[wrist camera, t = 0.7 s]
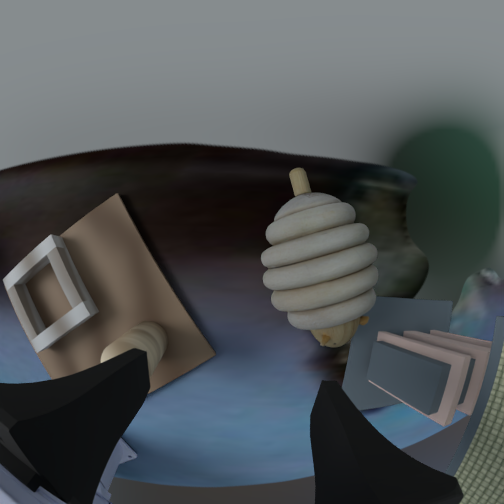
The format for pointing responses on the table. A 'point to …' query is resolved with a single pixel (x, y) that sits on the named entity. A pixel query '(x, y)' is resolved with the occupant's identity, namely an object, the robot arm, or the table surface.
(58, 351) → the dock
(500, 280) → the table surface
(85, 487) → the robot arm
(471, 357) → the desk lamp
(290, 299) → the toy sheep
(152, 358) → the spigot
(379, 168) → the table surface
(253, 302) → the table surface
